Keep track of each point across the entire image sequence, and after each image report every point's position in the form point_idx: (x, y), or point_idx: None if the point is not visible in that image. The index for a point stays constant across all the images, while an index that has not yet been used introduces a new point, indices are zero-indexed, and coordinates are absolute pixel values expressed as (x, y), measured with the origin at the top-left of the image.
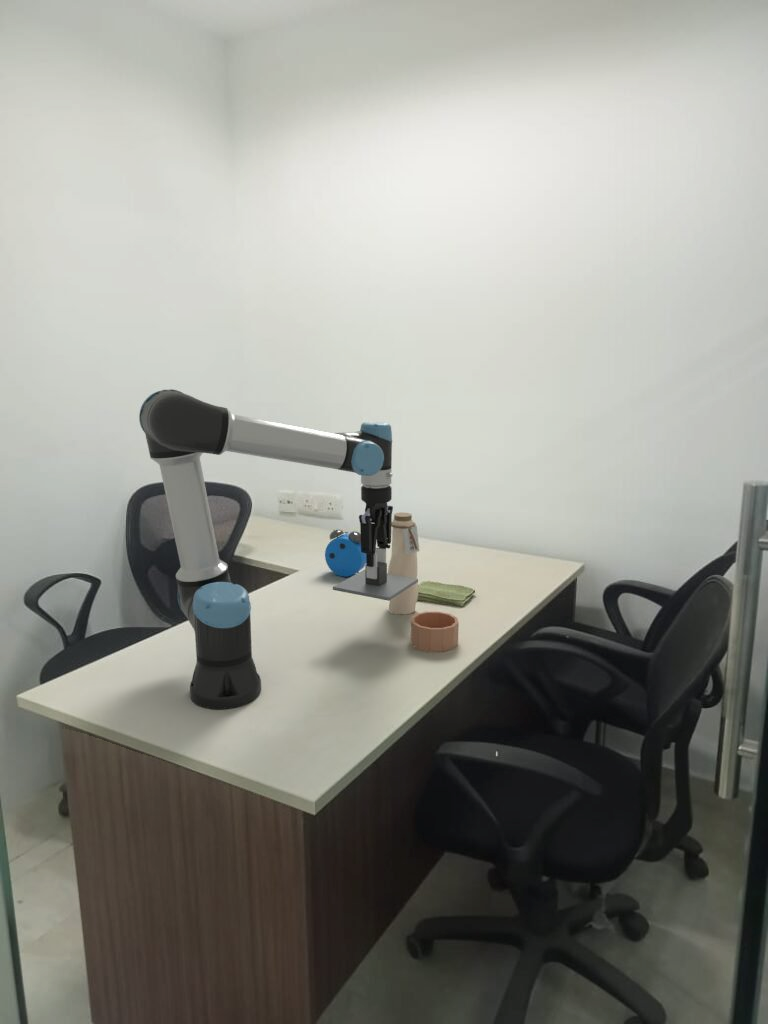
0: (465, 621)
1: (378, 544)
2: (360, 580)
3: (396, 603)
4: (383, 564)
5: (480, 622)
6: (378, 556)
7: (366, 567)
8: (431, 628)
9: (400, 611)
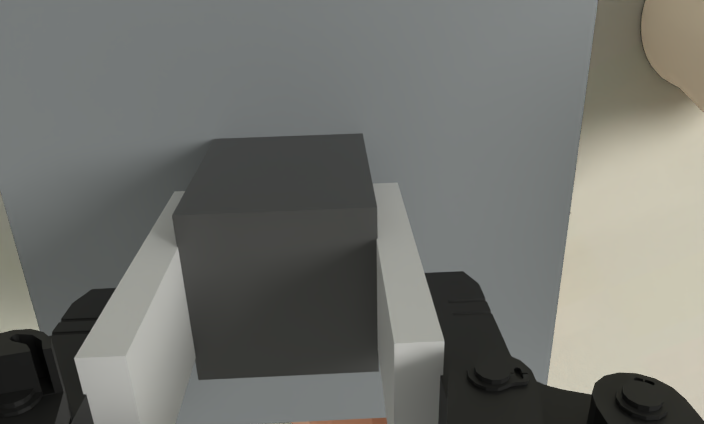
0: (662, 334)
1: (446, 412)
2: (267, 45)
3: (673, 31)
4: (314, 366)
5: (671, 382)
6: (382, 314)
7: (146, 241)
8: (300, 422)
9: (651, 48)
